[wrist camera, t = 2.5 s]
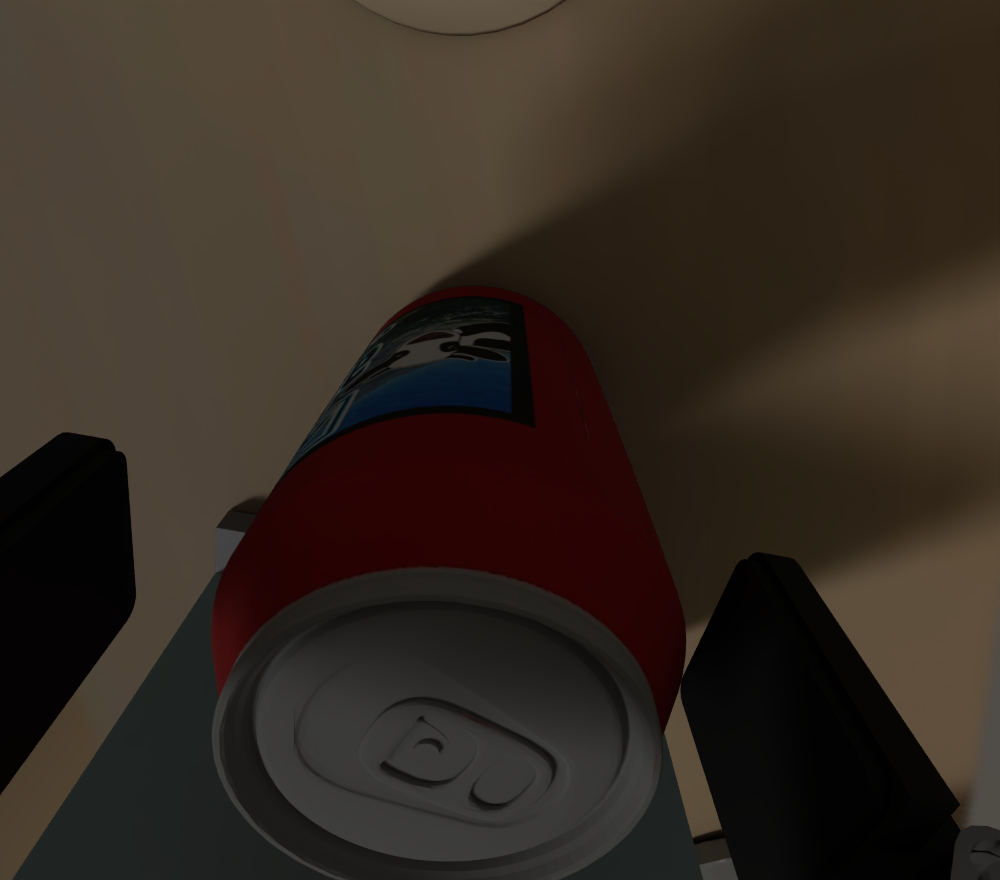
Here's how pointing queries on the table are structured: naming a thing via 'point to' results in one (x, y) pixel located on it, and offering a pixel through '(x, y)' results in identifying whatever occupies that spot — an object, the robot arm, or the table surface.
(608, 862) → the screen
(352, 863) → the beverage can
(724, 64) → the table surface
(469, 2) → the coaster
